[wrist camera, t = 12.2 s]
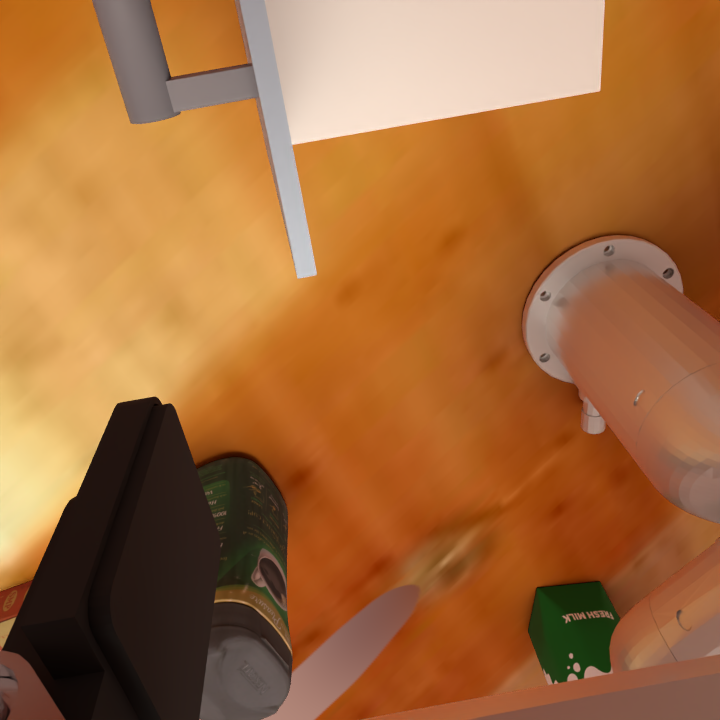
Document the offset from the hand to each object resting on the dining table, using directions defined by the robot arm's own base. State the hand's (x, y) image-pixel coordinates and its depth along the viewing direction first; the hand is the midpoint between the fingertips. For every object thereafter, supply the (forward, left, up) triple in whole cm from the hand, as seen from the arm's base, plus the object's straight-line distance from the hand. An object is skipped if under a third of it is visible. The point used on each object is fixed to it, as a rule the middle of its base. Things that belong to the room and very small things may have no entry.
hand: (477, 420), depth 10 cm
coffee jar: (-32, +13, -36) cm, 49 cm away
